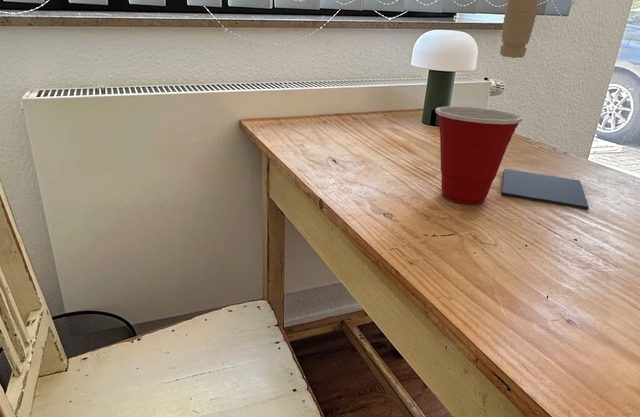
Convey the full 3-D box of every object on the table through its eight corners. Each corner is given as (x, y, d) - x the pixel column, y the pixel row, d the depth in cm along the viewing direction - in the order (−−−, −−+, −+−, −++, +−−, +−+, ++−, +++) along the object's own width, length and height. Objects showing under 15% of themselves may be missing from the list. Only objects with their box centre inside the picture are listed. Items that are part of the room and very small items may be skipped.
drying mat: (579, 182, 75) (579, 180, 75) (587, 209, 65) (588, 206, 65) (503, 170, 78) (504, 168, 78) (501, 194, 69) (502, 192, 69)
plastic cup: (496, 185, 72) (513, 104, 67) (511, 216, 62) (533, 123, 57) (421, 178, 73) (433, 98, 68) (425, 207, 63) (439, 115, 58)
